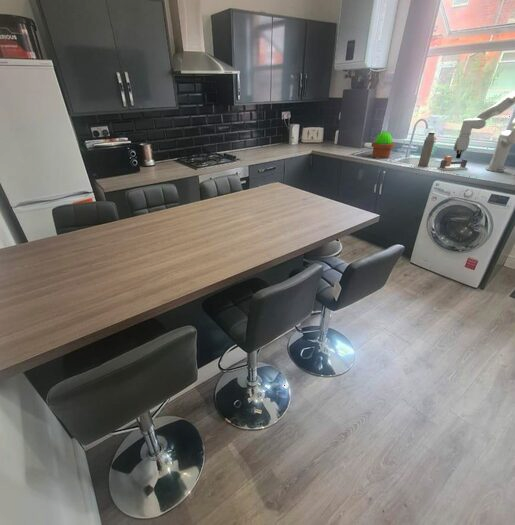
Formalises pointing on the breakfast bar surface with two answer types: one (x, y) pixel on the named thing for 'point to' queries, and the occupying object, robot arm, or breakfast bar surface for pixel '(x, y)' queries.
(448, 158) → the keeper
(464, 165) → the rail
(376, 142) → the potted cactus
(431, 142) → the thermos bottle
